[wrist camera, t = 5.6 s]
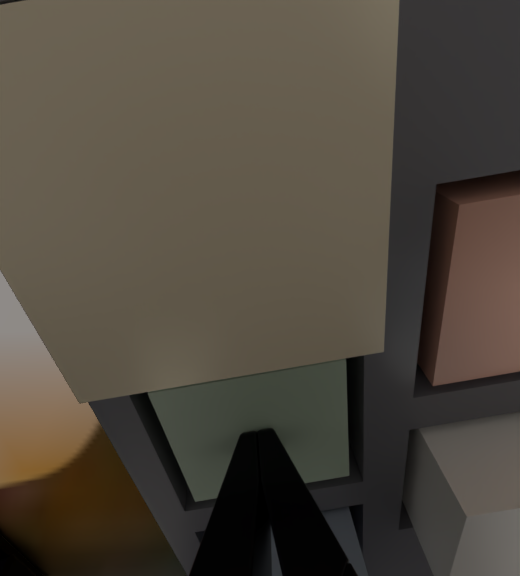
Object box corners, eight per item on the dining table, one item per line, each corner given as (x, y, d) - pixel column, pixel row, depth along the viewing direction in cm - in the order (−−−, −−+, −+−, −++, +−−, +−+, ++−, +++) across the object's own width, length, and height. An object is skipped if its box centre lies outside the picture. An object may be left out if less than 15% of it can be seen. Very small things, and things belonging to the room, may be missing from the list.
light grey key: (398, 491, 13) (443, 598, 10) (407, 406, 10) (466, 516, 8) (522, 470, 13) (598, 571, 10) (557, 381, 10) (667, 483, 8)
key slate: (235, 562, 14) (237, 669, 12) (211, 503, 12) (207, 620, 10) (344, 544, 14) (370, 647, 12) (341, 481, 12) (373, 592, 10)
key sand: (127, 293, 8) (79, 403, 5) (29, 48, 5) (-143, 29, 3) (330, 258, 8) (384, 351, 5) (318, 0, 5) (402, -65, 3)
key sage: (200, 415, 13) (195, 501, 10) (166, 314, 10) (147, 393, 8) (323, 394, 13) (349, 475, 10) (316, 289, 10) (346, 360, 8)
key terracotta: (384, 312, 11) (432, 386, 8) (390, 165, 9) (459, 204, 6) (526, 288, 11) (618, 354, 8) (570, 135, 9) (714, 161, 6)
